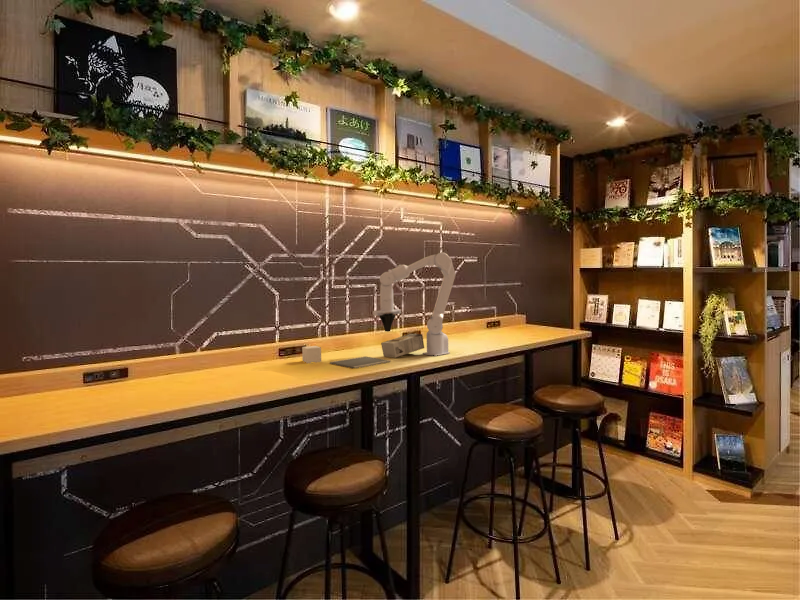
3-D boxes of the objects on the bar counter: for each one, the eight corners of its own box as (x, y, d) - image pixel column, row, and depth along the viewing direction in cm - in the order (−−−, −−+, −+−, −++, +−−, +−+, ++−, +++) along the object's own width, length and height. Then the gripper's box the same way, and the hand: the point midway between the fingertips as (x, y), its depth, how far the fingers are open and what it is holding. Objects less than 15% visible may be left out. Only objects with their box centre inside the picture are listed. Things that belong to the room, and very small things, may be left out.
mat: (365, 357, 194) (365, 356, 194) (390, 362, 183) (390, 360, 183) (329, 363, 182) (329, 362, 182) (354, 368, 170) (354, 367, 170)
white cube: (321, 362, 187) (321, 347, 187) (307, 363, 184) (306, 348, 184) (316, 359, 192) (316, 345, 192) (302, 361, 189) (302, 346, 189)
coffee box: (380, 342, 196) (409, 333, 206) (383, 356, 197) (412, 347, 206) (393, 342, 189) (422, 333, 199) (396, 358, 190) (425, 348, 199)
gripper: (393, 299, 207) (393, 329, 208) (368, 300, 197) (368, 332, 198) (403, 299, 202) (404, 330, 203) (378, 301, 192) (379, 333, 193)
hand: (387, 331), depth 200 cm, fingers closed
